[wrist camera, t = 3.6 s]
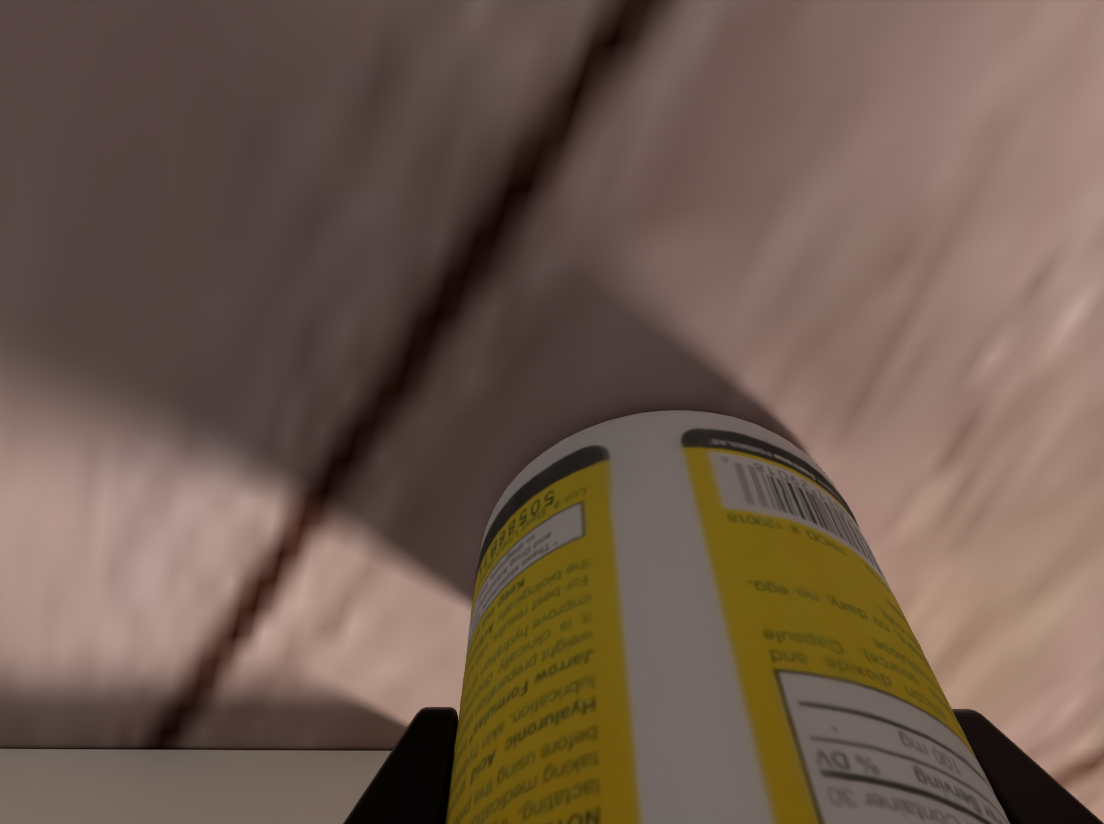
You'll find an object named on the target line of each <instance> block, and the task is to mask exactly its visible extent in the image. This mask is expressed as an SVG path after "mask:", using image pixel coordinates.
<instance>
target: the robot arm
mask: <svg viewBox="0 0 1104 824" xmlns="http://www.w3.org/2000/svg"><path fill="white" fill-rule="evenodd" d="M952 711H953V713H954V715H955V717H956V719H957V721H958V722H959V724H960V726H961V728H962V730H963V732H964V734H965V736H966V738H967V740H968V742H969V744H970V746H971V748H972V750H973V752H974V754H975V757H976V759H977V761H978V763H979V764H980V766H981V768H982V770H983V772H984V773H985V775H986V777H987V779H988V781H989V783H990V785H991V787H992V790H993V792H994V794H995V796H996V798H997V800H998V802H999V803H1000V805H1001V807H1002V809H1003V810H1004V812H1005V815H1006V817H1007V819H1008V821H1009V823H1010V824H1104V823H1103V822H1102V821H1100V820H1099V819H1098V818H1097V817H1096V816H1095V815H1094V814H1093V813H1092V812H1090V811H1089V810H1088V809H1087V808H1086V807H1085V806H1084V805H1083V804H1081V803H1080V802H1079V801H1078V800H1077V799H1076V798H1075V797H1074V796H1073V795H1071V794H1070V793H1069V792H1068V791H1067V790H1066V789H1065V788H1064V787H1062V786H1061V785H1060V784H1059V783H1058V782H1057V781H1056V780H1055V779H1053V778H1052V777H1051V776H1050V775H1049V774H1048V773H1047V772H1046V771H1045V770H1043V769H1042V768H1041V767H1040V766H1039V765H1038V764H1037V763H1036V762H1034V761H1033V760H1032V759H1031V758H1030V757H1029V756H1028V755H1027V754H1026V753H1024V752H1023V751H1022V750H1021V749H1020V748H1019V747H1018V746H1017V745H1015V744H1014V743H1013V742H1012V741H1011V740H1010V739H1009V738H1008V737H1006V736H1005V735H1004V734H1003V733H1002V732H1001V731H1000V730H999V729H998V728H996V727H995V726H994V725H993V724H992V723H991V722H990V721H989V720H987V719H986V718H985V717H984V716H983V715H982V714H980V713H978V712H977V711H974V710H970V709H952ZM457 728H458V715H457V712H456V710H455V709H454V708H451V707H425V708H423V709H421V710H420V711H419V712H418V713H417V714H416V715H415V717H414V718H413V720H412V721H411V723H410V724H409V726H408V727H407V729H406V730H405V732H404V733H403V735H402V736H401V738H400V739H399V741H398V742H397V744H396V745H395V747H394V748H393V750H392V751H391V753H390V754H389V756H388V757H387V759H386V760H385V762H384V763H383V765H382V766H381V768H380V769H379V771H378V772H377V774H376V775H375V777H374V778H373V779H372V781H371V782H370V784H369V785H368V787H367V788H366V790H365V791H364V793H363V794H362V796H361V797H360V799H359V800H358V802H357V803H356V805H355V806H354V808H353V809H352V811H351V812H350V814H349V815H348V817H347V818H346V820H345V821H344V823H343V824H445V822H446V815H447V804H448V798H449V792H450V783H451V774H452V768H453V761H454V747H455V742H456V734H457Z"/></svg>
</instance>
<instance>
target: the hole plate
mask: <svg viewBox="0 0 1104 824" xmlns="http://www.w3.org/2000/svg"><path fill="white" fill-rule="evenodd" d="M390 753H391V751H311V750H116V749H0V824H343V823H344V821H345V820H346V818H347V817H348V815H349V814H350V812H351V811H352V809H353V808H354V806H355V805H356V803H357V802H358V800H359V799H360V797H361V796H362V794H363V793H364V791H365V790H366V788H367V787H368V785H369V784H370V782H371V781H372V779H373V778H374V777H375V775H376V774H377V772H378V771H379V769H380V768H381V766H382V765H383V763H384V762H385V760H386V759H387V757H388V756H389V754H390Z"/></svg>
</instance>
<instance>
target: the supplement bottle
mask: <svg viewBox="0 0 1104 824" xmlns="http://www.w3.org/2000/svg"><path fill="white" fill-rule="evenodd" d="M445 824H1010V823H1009V821H1008V819H1007V817H1006V815H1005V812H1004V810H1003V809H1002V807H1001V805H1000V803H999V802H998V800H997V798H996V796H995V794H994V792H993V790H992V787H991V785H990V783H989V781H988V779H987V777H986V775H985V773H984V772H983V770H982V768H981V766H980V764H979V763H978V761H977V759H976V757H975V754H974V752H973V750H972V748H971V746H970V744H969V742H968V740H967V738H966V736H965V734H964V732H963V730H962V728H961V726H960V724H959V722H958V721H957V719H956V717H955V715H954V713H953V711H952V709H951V707H950V705H949V703H948V701H947V699H946V697H945V695H944V693H943V691H942V689H941V687H940V685H939V683H938V681H937V679H936V677H935V675H934V673H933V671H932V669H931V667H930V665H929V663H928V661H927V659H926V657H925V655H924V653H923V651H922V649H921V647H920V645H919V643H918V641H917V639H916V638H915V636H914V634H913V632H912V630H911V628H910V626H909V624H908V622H907V620H906V618H905V616H904V614H903V612H902V610H901V608H900V606H899V604H898V602H897V600H896V598H895V596H894V594H893V592H892V590H891V588H890V586H889V585H888V583H887V581H886V579H885V577H884V575H883V573H882V571H881V569H880V567H879V565H878V563H877V561H876V559H875V557H874V555H873V553H872V551H871V549H870V547H869V545H868V543H867V541H866V539H865V538H864V536H863V534H862V533H861V531H860V528H859V526H858V524H857V522H856V520H855V517H854V515H853V513H852V512H851V510H850V508H849V507H848V505H847V503H846V502H845V500H844V499H843V498H842V496H841V495H840V493H839V491H838V490H837V488H836V487H835V485H834V484H833V482H832V481H831V480H830V478H829V477H828V476H827V475H826V474H825V472H824V471H823V470H822V469H821V467H819V466H818V465H817V464H816V463H815V462H814V461H813V460H812V459H811V458H810V457H809V456H808V455H807V454H806V453H804V452H803V451H802V450H800V449H799V448H798V447H796V446H795V445H793V444H792V443H791V442H789V441H788V440H786V439H784V438H782V437H781V436H779V435H777V434H775V433H773V432H771V431H769V430H767V429H765V428H763V427H761V426H759V425H757V424H754V423H751V422H748V421H745V420H742V419H739V418H736V417H731V416H727V415H722V414H716V413H710V412H701V411H688V410H669V411H654V412H645V413H638V414H633V415H629V416H624V417H620V418H616V419H612V420H608V421H605V422H602V423H600V424H597V425H594V426H592V427H589V428H587V429H584V430H581V431H579V432H577V433H575V434H573V435H571V436H569V437H567V438H565V439H563V440H562V441H560V442H559V443H557V444H556V445H554V446H552V447H551V448H549V449H548V450H546V451H545V452H543V453H542V454H541V455H540V456H538V457H537V458H536V459H534V460H533V461H532V462H530V463H529V464H528V465H527V466H526V467H525V468H524V469H523V470H522V471H521V472H520V473H519V474H518V475H517V476H516V477H515V479H514V480H513V481H512V482H511V483H510V485H509V486H508V487H507V488H506V490H505V491H504V493H503V495H502V496H501V498H500V499H499V501H498V503H497V504H496V506H495V508H494V510H493V512H492V515H491V517H490V519H489V522H488V524H487V527H486V529H485V533H484V537H483V540H482V544H481V549H480V554H479V560H478V566H477V572H476V579H475V588H474V595H473V601H472V609H471V619H470V627H469V637H468V647H467V655H466V664H465V672H464V678H463V688H462V696H461V703H460V714H459V721H458V728H457V734H456V742H455V747H454V761H453V768H452V774H451V783H450V792H449V798H448V804H447V815H446V822H445Z"/></svg>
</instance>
